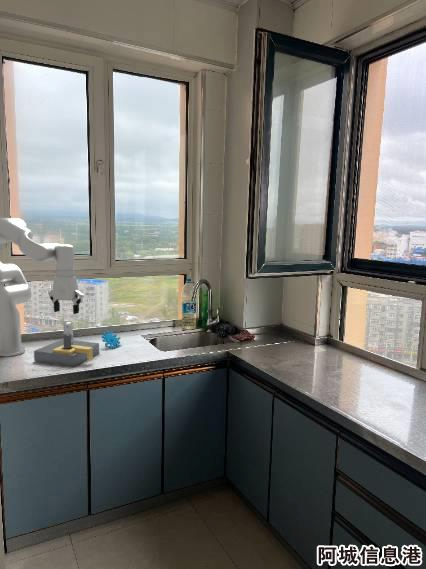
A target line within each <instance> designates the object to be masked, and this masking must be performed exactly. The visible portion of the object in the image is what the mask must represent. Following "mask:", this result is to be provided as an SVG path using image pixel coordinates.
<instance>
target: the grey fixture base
mask: <svg viewBox="0 0 426 569" xmlns="http://www.w3.org/2000/svg"><path fill="white" fill-rule="evenodd" d="M73 325H74V324H73V321H70V320H69V321H63V335H64V334H71V345H77V346H84V347H93V358H94V357H95V356H97V355H99V354H100V343H99V342H93V341H92V342H91V341H83V340H75V339H74V330H73V329H74V328H73ZM62 345H64V339H59V340H56V341H54V342H52V343H49V344H47V345H45V346H42V347H41V348H38V349H36V350H33V360H34V363H40V364H49V365H55V366H56V365H57V366H63V367H71V368H76V367H77V366H79V365H81V364H83V363H84V362H87V361H88V360H87V354H86V353H78V352H74V353H72V354H65V353H57V352H53V349H55V348H58V347H60V346H62Z"/></svg>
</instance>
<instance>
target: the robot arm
mask: <svg viewBox="0 0 426 569" xmlns="http://www.w3.org/2000/svg"><path fill="white" fill-rule="evenodd" d="M33 238H34V237H33V232H32V230H30V228H28V226H27V224H26V222H25V221H24V220H23V219H21V218H18V217H1V218H0V245H4V244H7V243H9V242H11V243H13V244H14V245H16V246H18V249H19V251H20V252H21V253H22V254H23V255H24V256H25V257H26V258H30V259H31V260H33V261H36V262H39V263H42V262H43V263H44V262H52V261H55V270H54V274H55V276H54V278H53V283H52V290H50V291H48V292H47V294H48V296H49V299H50V300H51V302H52V304H53V313H57V312H60V310H61V306H60V305H61V304H60V301H68V302H69V301H71V302H72V303H73V305H72V311H73V312H72V313H73V315H77V314H79V312H80V305H81V303H82V301H83V300H84V297H85V294H84V293H82V292H80V291H79V287H78V286H79V285H78V280H77V277H76V276H75V275H76V274H75V247H74V246H73V245H72V244H61V243H53V242H52V243H39V242H36V241H34V240H33ZM7 284H8V285H7ZM1 285H2V286H1ZM31 297H32V290H31V288H30V285H29V283H28V281H27V279H26V277H25V275H24V273H23V271H22V270H21V268H20V267H19V266H18V265H16V263H11V262H7V263H3V262H2V261H1V260H0V357H14V356H18V355H21V354H23V353H25V352H26V348H25V346H24V347H23V346H22V331H21V329H22V328H21V316H20V311H19V309H18V308H17V306H18V305H20V304H24V303H27V302H28V301H30V299H31Z"/></svg>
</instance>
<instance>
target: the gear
mask: <svg viewBox="0 0 426 569" xmlns="http://www.w3.org/2000/svg"><path fill="white" fill-rule="evenodd" d="M117 336H118V335H117V334H116V333H114V332H113V331H109V330H106V331H104V332H103V333H102V336H101V338H102V343H104V346H105V347H107V346H108V348H109V349H114V350H115V349H116V348H119V347H120V344H121V341H120V340H121V339H122V338H121V336H119V337H117Z"/></svg>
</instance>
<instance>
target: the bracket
mask: <svg viewBox="0 0 426 569" xmlns="http://www.w3.org/2000/svg"><path fill="white" fill-rule="evenodd" d="M53 352H57V353H65V354H72V353H74V352H78V353H86V354H87V360H86V361H91V360H93V359H94V357H93V347H84V346H77V345H71V349H70V350H66V349H64V345H62V346H60V347H58V348H55V349H53Z"/></svg>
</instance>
